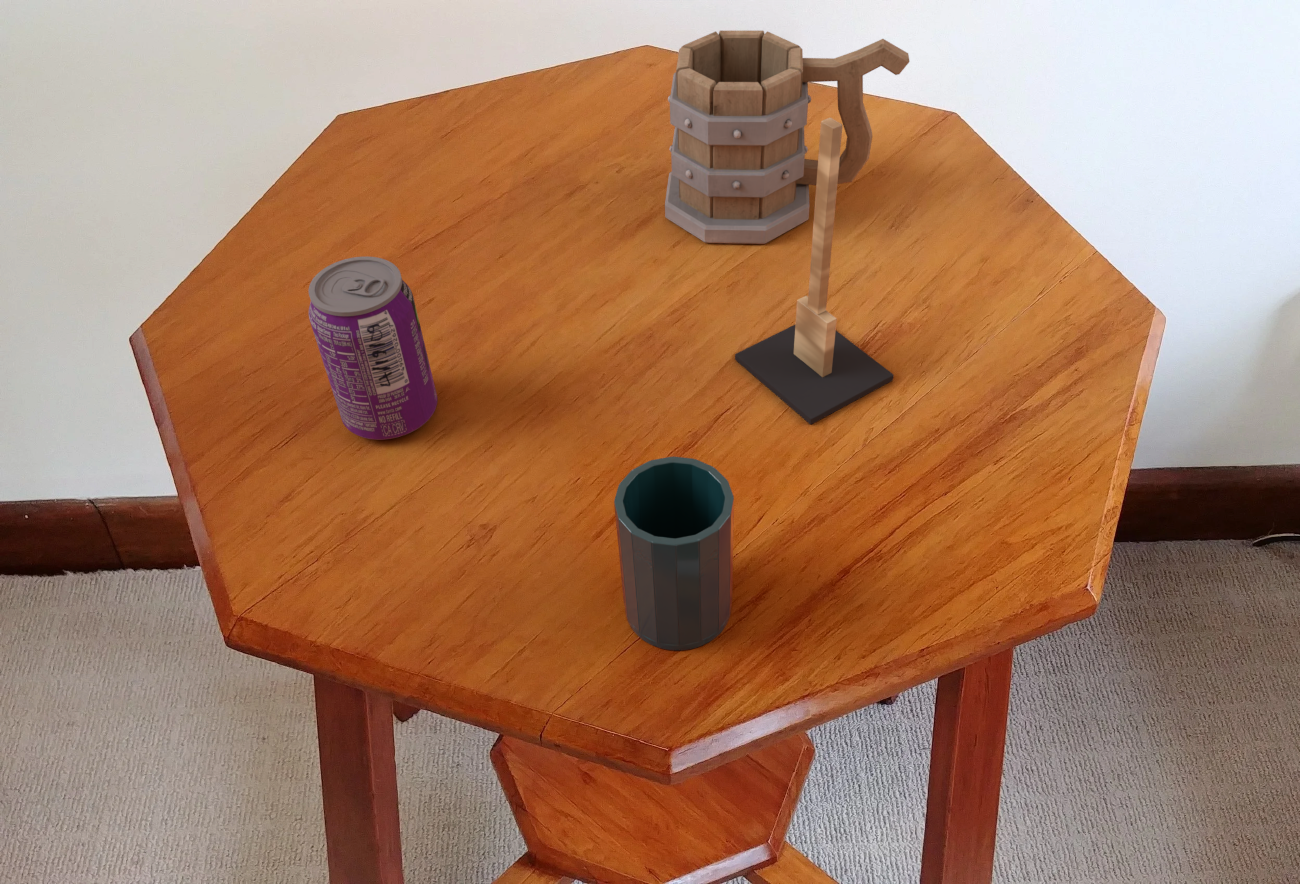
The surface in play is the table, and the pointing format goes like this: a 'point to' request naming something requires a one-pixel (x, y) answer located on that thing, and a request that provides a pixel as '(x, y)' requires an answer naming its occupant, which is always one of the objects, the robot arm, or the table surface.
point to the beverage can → (372, 347)
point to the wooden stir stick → (820, 260)
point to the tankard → (758, 131)
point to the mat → (813, 375)
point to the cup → (676, 551)
